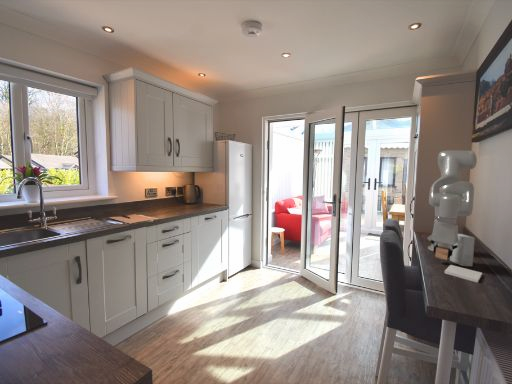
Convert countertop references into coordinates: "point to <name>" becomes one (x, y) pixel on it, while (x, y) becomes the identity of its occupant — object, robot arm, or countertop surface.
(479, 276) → the chopping board
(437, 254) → the wooden cube
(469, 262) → the skincare box
